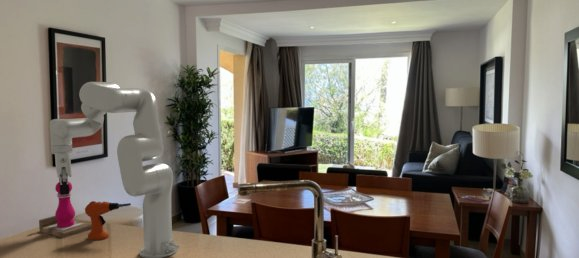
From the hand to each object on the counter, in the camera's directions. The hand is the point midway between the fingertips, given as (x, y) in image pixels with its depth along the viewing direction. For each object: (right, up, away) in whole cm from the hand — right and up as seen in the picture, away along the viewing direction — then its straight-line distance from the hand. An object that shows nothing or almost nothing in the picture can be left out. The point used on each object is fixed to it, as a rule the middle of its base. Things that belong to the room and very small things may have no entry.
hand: (64, 192), depth 164 cm
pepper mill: (0, -14, +1) cm, 14 cm away
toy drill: (+22, -17, -8) cm, 29 cm away
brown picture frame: (0, -16, +1) cm, 16 cm away
